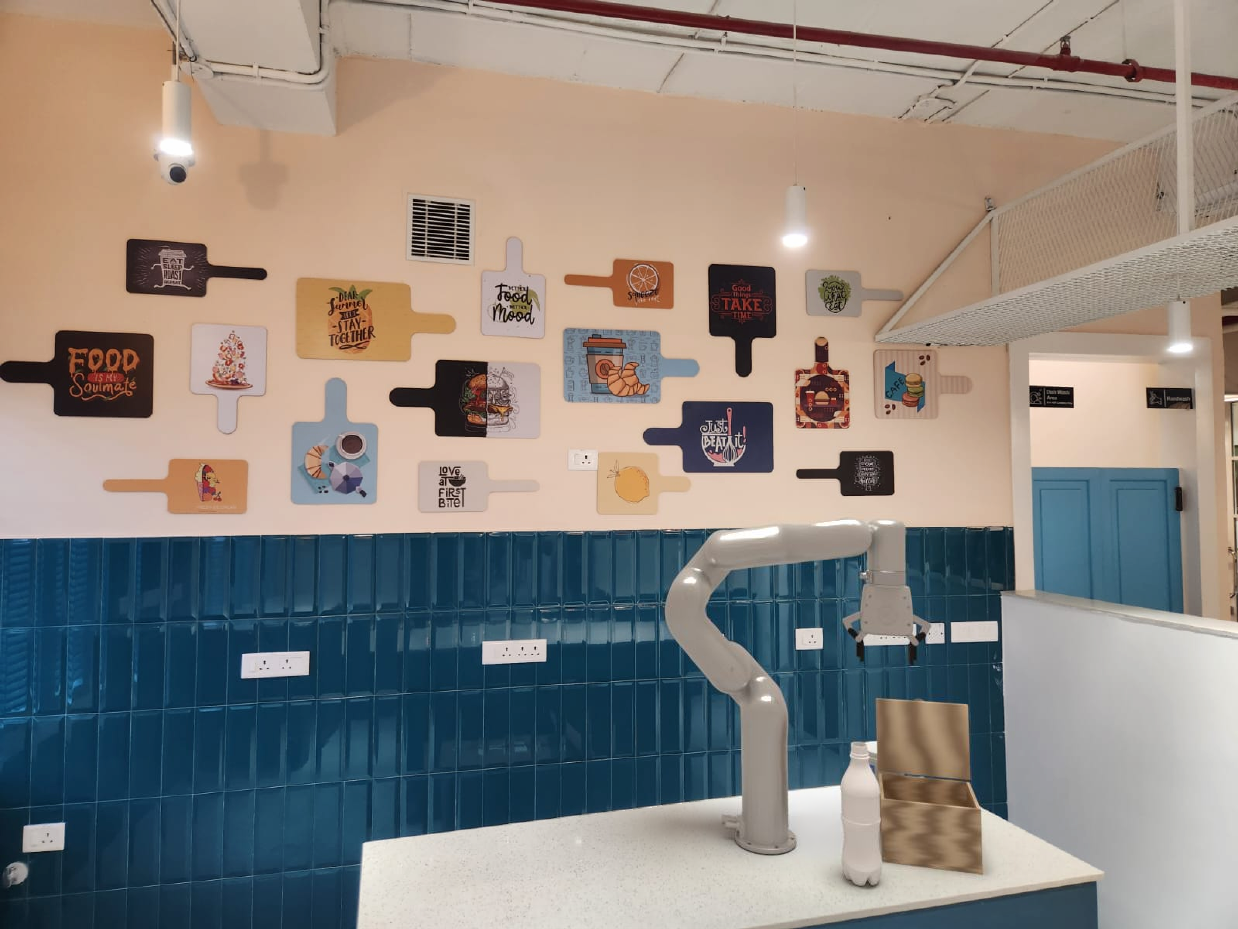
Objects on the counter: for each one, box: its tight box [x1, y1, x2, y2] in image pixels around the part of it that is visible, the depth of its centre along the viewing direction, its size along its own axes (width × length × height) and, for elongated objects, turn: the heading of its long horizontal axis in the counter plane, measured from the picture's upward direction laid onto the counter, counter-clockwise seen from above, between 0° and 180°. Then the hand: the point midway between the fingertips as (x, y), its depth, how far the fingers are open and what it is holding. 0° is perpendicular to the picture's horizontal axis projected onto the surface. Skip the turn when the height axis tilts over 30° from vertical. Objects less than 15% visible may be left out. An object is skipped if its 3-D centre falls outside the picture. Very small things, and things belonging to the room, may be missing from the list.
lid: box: [875, 697, 971, 781], centre depth 165 cm, size 18×15×8 cm
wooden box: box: [879, 773, 984, 875], centre depth 154 cm, size 18×15×12 cm
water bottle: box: [839, 741, 883, 887], centre depth 143 cm, size 7×7×25 cm
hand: (886, 662), depth 156 cm, fingers open, 9 cm apart
